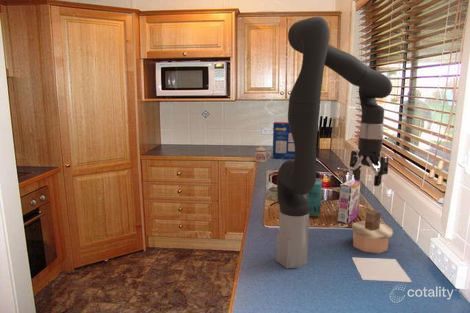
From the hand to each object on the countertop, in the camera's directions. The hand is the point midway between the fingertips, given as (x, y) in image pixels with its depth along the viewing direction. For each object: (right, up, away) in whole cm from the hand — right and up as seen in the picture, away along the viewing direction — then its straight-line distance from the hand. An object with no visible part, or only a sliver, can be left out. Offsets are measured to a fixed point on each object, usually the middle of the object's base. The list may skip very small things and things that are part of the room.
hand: (366, 182), depth 126 cm
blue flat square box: (-2, +7, +159) cm, 159 cm away
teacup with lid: (-25, +5, +147) cm, 150 cm away
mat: (-1, -26, -13) cm, 29 cm away
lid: (+3, -17, +2) cm, 18 cm away
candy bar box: (+3, -18, +30) cm, 35 cm away
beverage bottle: (-12, -17, +33) cm, 39 cm away
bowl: (+2, -23, +3) cm, 23 cm away
